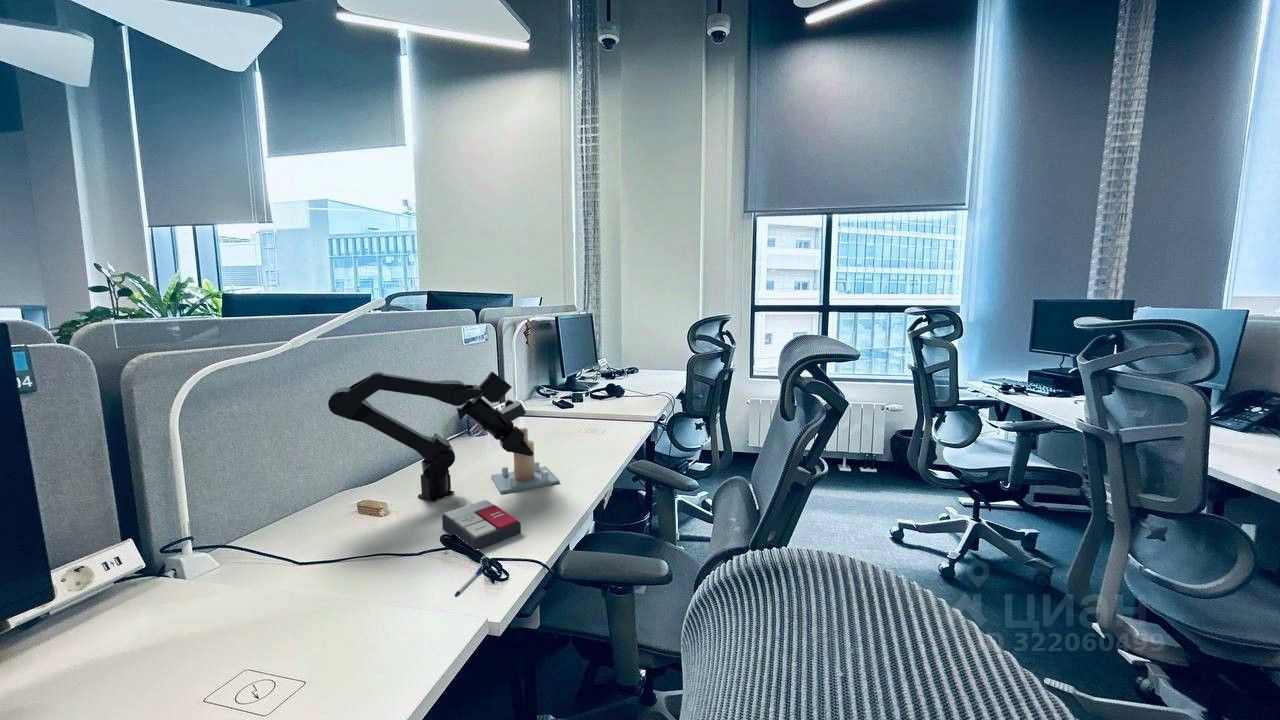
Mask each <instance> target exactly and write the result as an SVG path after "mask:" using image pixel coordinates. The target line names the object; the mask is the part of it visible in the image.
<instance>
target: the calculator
mask: <svg viewBox="0 0 1280 720" xmlns="http://www.w3.org/2000/svg"><path fill="white" fill-rule="evenodd" d="M441 519H442V522H441V524H442V530H444V531H445V532H446V533H448V534H450V535H452V534H455V535H457V536H458V537H460V538H461V539H462V540H464V541H465V542H467V543H468V544H469V545H471V546H472V547H473V548H475V549H479V550H478V551H481V550H483V549H486V548H489V547H491V546H494V545H496V544H498V543H501V542H504V541H506V540H510V539H511V538H513V537H517V536H519V535H521V534H522V523H521V521H519V520H518V519H517V518H516V517H514V516H513V515H511V514H509V513H508V512H507V511H505V510H503V509H502V508H501V507H499V506H497V505H496V504H494V503H492V502H490V501H489V500H487V499H483V500H481V501H478V502H474V503H472V504H469V505H464V506H463V507H459V508H456V509H452V510H449V511H446V512H445V513H442V515H441ZM480 549H481V550H480Z"/></svg>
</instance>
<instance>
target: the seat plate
mask: <svg viewBox="0 0 1280 720" xmlns="http://www.w3.org/2000/svg"><path fill="white" fill-rule="evenodd" d="M500 467H501V473H498V474H491V476H490V479H491V478H492V479H491V480H492V482H493V484H494V483H495V484H494V486H495V487H496V489H497V491H498V492H499V494H500V495H502V494H506V493H507V494H508V492H509V493H512V492H513V491H514V492H518V491H519V490H520V491H523V490H530V488H531V489H536V488H540V487H541V486H542V487H547V486H552V485H551V484H553V485H557V484H556V483H558V484H560V483H561V480H560V479H559V478H558V477H557V476H556V475H555V474H554V473H553V471H551V470H550V469H549V468H548V467H547V466H542V467H541V466H540V462H539V460H534V470H535V478H534V479H532V480H530V481H523V482H521V481H516V480H515V476H514V471H510V472H509V468H508V466H507V465H502V466H500ZM546 485H547V486H546ZM514 492H513V493H514Z"/></svg>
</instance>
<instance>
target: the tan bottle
mask: <svg viewBox="0 0 1280 720" xmlns="http://www.w3.org/2000/svg"><path fill="white" fill-rule="evenodd" d="M519 429H520V430H521V431H522V432H523V433H524V435H525V436H524V442H525V443H526V444H527V445H528V447H529V448H530V449H531V450H532V452H533V453H534V454H533V455H532V456H527V455H523V454H518V453H513V472H514V476H515V480H516V481H521V482H523V481H530V480H532V479H534V478H535V470H534V461H535V447H534V446H535V445H534V444H535V443H534V441H533V440H529V434H528V429H529V428H528V427H521V428H519Z"/></svg>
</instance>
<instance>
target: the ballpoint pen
mask: <svg viewBox="0 0 1280 720" xmlns="http://www.w3.org/2000/svg"><path fill="white" fill-rule="evenodd" d="M481 573H483V571H482V565H481V566H480V567H479V568H478V569H477V571H475V573H474V574H473V575H472V576H471V577H470V578H469V579H468V580H467V581H466V582H465V583H464V584H463V585H462V586H461V587H460V588H459V589H458V590H457V591H456V592H455V594H454V597H457V596H459V595H460V594H461V593H462V592H463V591H464V590H465V589H467V587H468V586H469V585H470V584H471V583H472V582H473V581H474V580H475V579H476V578H477V577H478V576H479V575H481ZM458 594H459V595H458Z"/></svg>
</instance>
